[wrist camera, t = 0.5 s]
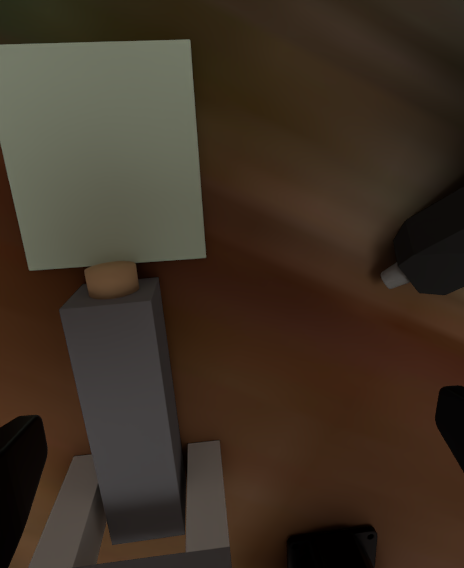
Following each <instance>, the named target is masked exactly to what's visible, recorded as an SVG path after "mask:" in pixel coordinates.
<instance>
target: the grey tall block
mask: <svg viewBox="0 0 464 568" xmlns="http://www.w3.org/2000/svg"><path fill="white" fill-rule="evenodd" d="M84 273H85V278H86V283H87V284H83V285H82V286H81V287H80V288H79V289H78V290H77V291H76V292H75V293H74V294H73V295H72V296H71V297H70V299H69V300H68V301H67V302H66V303H65V304H64V305H63V306H62V307H61V308H60V309H59V312H60V316H61V321H62V325H63V329H64V334H65V338H66V343H67V347H68V351H69V356H70V360H71V365H72V369H73V374H74V378H75V382H76V387H77V391H78V396H79V400H80V404H81V409H82V413H83V418H84V422H85V426H86V431H87V435H88V440H89V444H90V449H91V453H92V457H93V462H94V466H95V471H96V475H97V479H98V484H99V488H100V493H101V497H102V502H103V506H104V510H105V515H106V519H107V524H108V528H109V532H110V537H111V541H112V545H115V544H122V543H129V542H136V541H143V540H150V539H157V538H164V537H171V536H178V535H185V507H186V477H185V469H184V462H183V454H182V447H181V440H180V432H179V425H178V418H177V410H176V403H175V395H174V388H173V381H172V373H171V366H170V358H169V351H168V344H167V336H166V329H165V321H164V314H163V307H162V299H161V292H160V284H159V277H154V278H143V279H138V276H137V269H136V263H134V262H131V261H114V262H107V263H101V264H97V265H94V266H91V267H89V268H87V269H85V270H84Z"/></svg>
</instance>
